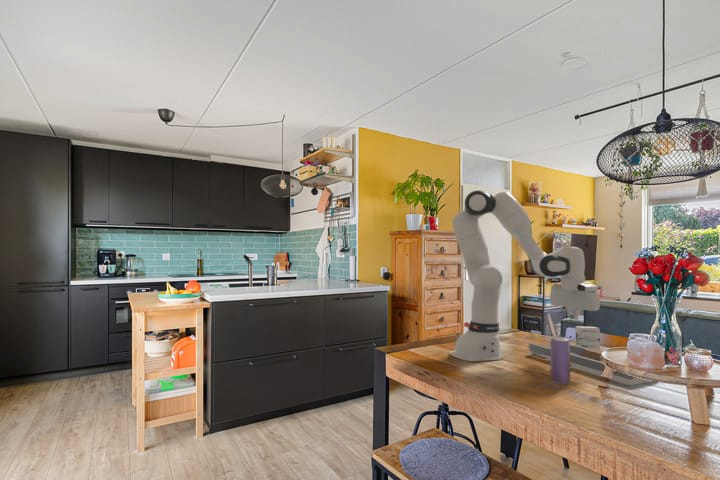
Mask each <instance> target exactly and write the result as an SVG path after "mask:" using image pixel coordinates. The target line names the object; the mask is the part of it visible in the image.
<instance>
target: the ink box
mask: <svg viewBox="0 0 720 480" xmlns="http://www.w3.org/2000/svg"><path fill="white" fill-rule="evenodd" d="M575 345H576V346H580V347H584V348H588V349H592V348H596V349H600V350H601V330H600V328H599V327H595V326H580V325H579V326H575Z"/></svg>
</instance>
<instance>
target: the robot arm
mask: <svg viewBox="0 0 720 480" xmlns="http://www.w3.org/2000/svg"><path fill="white" fill-rule="evenodd" d="M486 214H492V215H493V216H494V217H495V218H496V219H497V220H498V222H499V223H500V224H501V226H502V227H503V228H504V229H505V230H506V231H507V232H508V233H509V235H511V236H512V238H513V239H515V241H516V242H517V243H518V244H519V246H520V247H521V249H522V250H523V251H524V253H525V254H526V256H527V257H528V260H529V261H530V262H529V263H530V268H531V270H532V272H533V273H534V274H535V275H536V276H539V277H542V278H556V277H560V284H559V283H558V284H557V283H553V284H552V285H551V286H550V295H549V304H550V306H555V307H562V308H565V310H566V312H567V314H568V319H569V320H570V319H571V320H574V321H575V320H576V321H577V320H579V315H580V313H581V312H582V310H584V311H591V312H596V311H599V310H600V306H601V302H600V295H599V293H598V292H597V291H599V290H598V289H599V286H597V285H596V284H593V283H590V282H588V281H586V276H585V271H586V270H585V269H586V262H585V261H586V260H585V253H584V251H583V250H582V248H580V247H576V246H569V245H562V247H561V248H560V249H557V250H556V251H553V252H550V253H546V252H545V251H543V249H542V248H541V247H540V246H539V244H538V242H537V241H536V240H535V238H534V237H533V234H532V231H531V228H532V220H531V217H530V216H529V213H528V212H527V210H525V208H524V207H523V206H522V204H521V203H520V202H519V201H518V200H517V199H516V198H515V197H514V196H513V195H512V194H511V193H509V192H508V191H501V192H498V193H496V194H490V193H488V192H486V191H484V190H474V191H471V192H469V193H468V194H467V196H466V197H465V199H464V210H462V211H461V212H459V213H457V214H456V215H455V216H454V217H453V218H452V226H453V232H454V235H455V238H456V241H457V244H458V247H459V249H460V252H461V254H462V257H463V261H464V265H465V269H466V272H467V276H468V278H469V279H468V280H469V281H470V283H471V284H472V286H473V295H472V301H471V319H470V321H469V322H464V323H463V327H465V328H467V331H465V332H464V334H462V335H461V336H460V337H458V338H457V340H456V341H455V342H456V343H455V348H454V350H450V351H449V355H450V356H451V357H454V358H456V359H459V360H462V361H466V362H481V361H482V362H484V361H500V360H502V357H503V354H502V351H501V344H500V337H499V332H500V323H499V299H500V294H501V287H502V284H503V275H502V273H501V272H500V270H498V268H497V267H495V266H492V264H491V260H490V255H489V249H488V246H487V243H486V240H485V237H484V235H483V233H482V229H481V227H480V224H479V219H480V218H481V217H483V216H485V215H486ZM573 310H574V313H573Z"/></svg>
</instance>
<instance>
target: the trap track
mask: <svg viewBox="0 0 720 480" xmlns="http://www.w3.org/2000/svg"><path fill="white" fill-rule="evenodd" d="M528 344H529V345H528V350H529V352H528V355H529V356H535V357H537V358H538V357H539V358H542V359H545V360H546V361H549V362H551V347H547V346H544V345H540V344H537V343H533V342H530V343H528ZM585 349H588V348H584V347H580V346H576V344H572V343H570V369H575V370H578V371H581V372H585V373H588V374H591V375H594V376H597V377H600V378H602V377H601V375H602V374H603V371H604V369H605V365H604V364H603V363H602V362H600V361H597V360H593V359H589V358H586V357H584V350H585ZM610 381H615V382H617V383H621V384H624V385H627V386H630V387H632V386H635V385H640V384H644V382H646V383H649V382H651V381H649V380H644V379H640V378H636V377H633V376H629V375H626V374H623V373H621V372H618V371H613V374H612V377H611V380H610Z"/></svg>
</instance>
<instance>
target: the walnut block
mask: <svg viewBox="0 0 720 480" xmlns="http://www.w3.org/2000/svg"><path fill="white" fill-rule="evenodd" d="M603 351H605V350H604V349H601V348H600V349H596V348H592V349H585V350H584V355H583V357H586V358H589V359H593V360H597V361H600V362H602V361H601V357H600V356H601V353H602V352H603Z"/></svg>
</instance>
